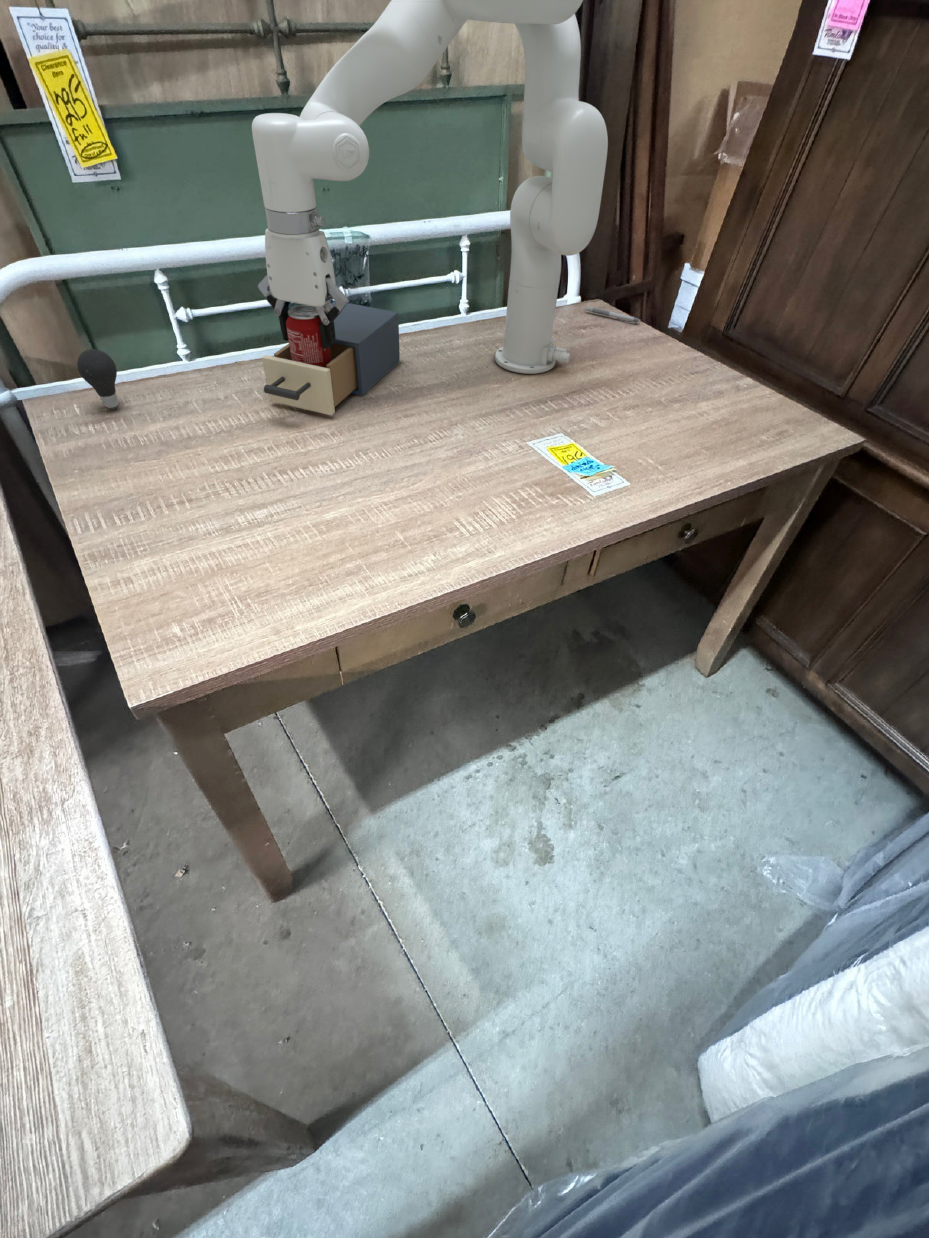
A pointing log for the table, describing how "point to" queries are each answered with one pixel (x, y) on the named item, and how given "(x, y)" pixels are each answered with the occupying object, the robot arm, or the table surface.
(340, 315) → the cabinet
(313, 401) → the drawer
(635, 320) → the pen
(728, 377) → the table surface
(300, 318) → the soda can
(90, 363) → the light bulb
